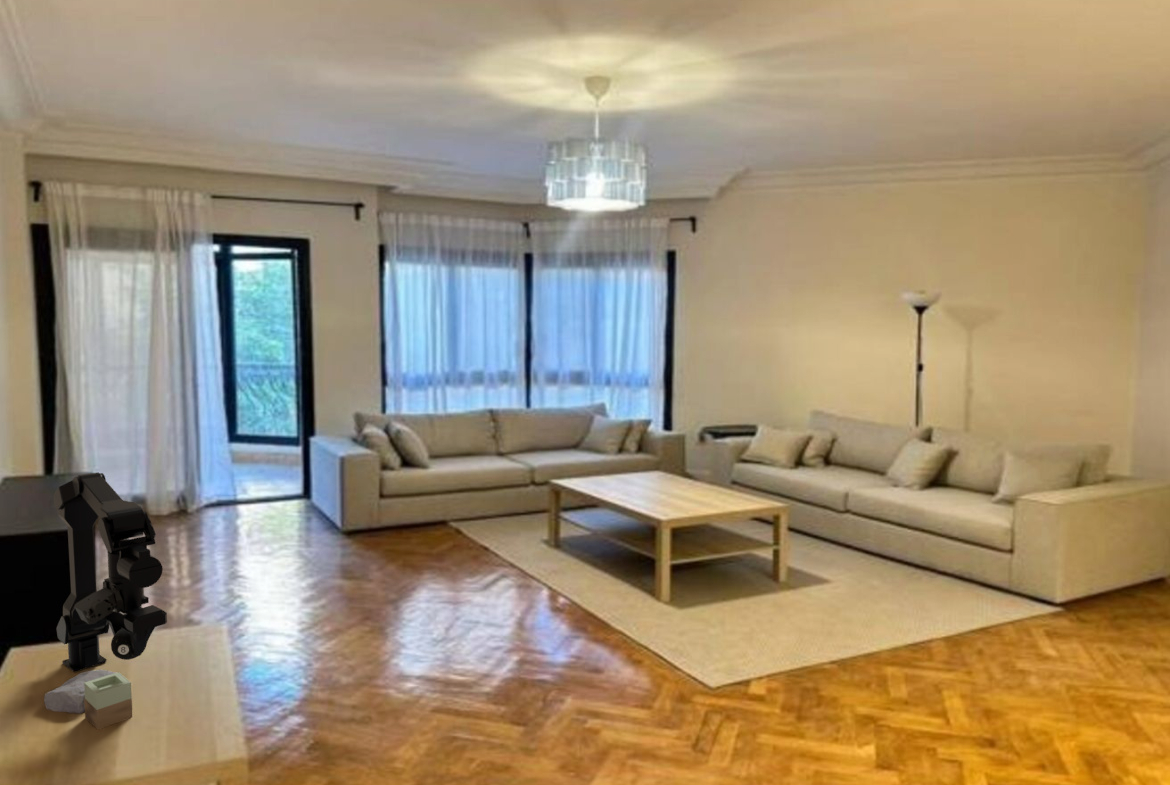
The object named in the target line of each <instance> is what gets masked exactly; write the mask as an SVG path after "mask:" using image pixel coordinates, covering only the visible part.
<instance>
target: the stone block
mask: <svg viewBox="0 0 1170 785" xmlns="http://www.w3.org/2000/svg"><path fill="white" fill-rule="evenodd" d="M114 673H116V672H114V671H110V670H108V669H107V670H106V669H96V670H89V671H83V672H81V673H78V674H77V675H75V676H74V677H71V678H69V679H67V680H66V681H65V682H64V683H62V685H60V686H59V687H56V688H54V689H52V690H50V691H48V692H46V693H44V699H43V701H44V705H45V708H46V709H47V710H50V711H51V712H62V713H63V712H64V713H65V712H66V713H69V714H72V713H73V714H74V713H75V714H83V713H85V706H84V699H85V690H84V683H85V682H88V681H91V680H94V679H98V678H101V677H104V676H107V675H111V674H114ZM120 674H121V675H123V674H122V673H120Z"/></svg>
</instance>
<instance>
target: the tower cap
mask: <svg viewBox="0 0 1170 785" xmlns="http://www.w3.org/2000/svg"><path fill="white" fill-rule="evenodd" d="M121 674H122V673H121V672H119V671H118V672H117V671H116V672H115V673H114V674H111V675H107V676H104V677H101V678H98V679H94V680H91V681H88V682H85V683H84V690H85V699H86V700H87V701H88V702H89V703H90V704H91V705H92V706H93V707H94V708H95V709H96V710H98V709H101V708H104V707H107V706H110V705H113V704H116V703H119V702H122V701H125V700H128V699H131V698H132V699H133V697H132V682H131V681H130V680H129V679H128V678H127V677H126V676H124V675H123V674H122V675H121Z"/></svg>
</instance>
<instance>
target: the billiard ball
mask: <svg viewBox="0 0 1170 785" xmlns="http://www.w3.org/2000/svg"><path fill="white" fill-rule="evenodd" d="M147 643H148V642H147ZM147 643H146V645H145V648H144V650H143V652H142V654H143V653H144V652H145V650H146V648H147V646H148V644H147ZM110 648H111V652H112V654H113V655H114V657H116V658H117V659H120V660H124V661H125V660H134V659H135V658H137V657H135V656H134V654H133V650H132V645H131V640H130V635H129V632H127V631H125V630H124V629H121V630H119V631H118V632H117V633H116V634H115V635H113V637H112V639H111V642H110Z"/></svg>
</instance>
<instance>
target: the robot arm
mask: <svg viewBox="0 0 1170 785" xmlns="http://www.w3.org/2000/svg"><path fill="white" fill-rule="evenodd" d="M53 505H54V508H55V510H56V511H57V516H58V517H59V518H60V519H61V520H62V521H63V523H65V525H66V526H67V527H66V528H67V538H68V539H67V540H68V559H69V577H70V578H69V579H70V594H69V595H68V597H67V599H66V600H65V602H64V603H63V606H62V616H60V619H59V621H58V623H57V626H56V628H55V629H56V635H57V639H58V640H59V641H60V642H61V643H62V644H63V645H67V652H68V658H67V659H63V660H62V664H63V665H64V666H65V667H66V668H68V669H69V670H71V671H72V672H73V673H74V672H75V673H76V672H79V671H82V670H85V669H88V668H92V667H95V666H99V665H102V664H104V663H107V658H105V657H104V656H102V655H101V654H100V653H101V652H100V651H101V650H100V635H105V634H106V635H107V634H109V630H111V632H112V635H113V636H114V635H115V634H116V633H117V632H118V631H119V630H121V629H124V630H125V631H127V632H129V635H130V640H131V645H132V650H133V654H134V656H135V657H136V658H137V657H140V656H141V655H142V654H143V653H144V651H145V650H144V648H145V645H146V643H148V642H149V639H150V637H151V636H152V633H153V632H154V629H156V627H159V626H163V625H166V624H167V623H168V613H167V612H166V611H165V610H163V609H161V608H160V607H158V606H156V605H153V604H152V605H149V606H148V605H147V606H144V607H142V606H143V605H145V604H149V602H150V600H149V597H148V596H146V595H145V589H146V588H149V587H151V586H153V585H155V584H156V583H157V582H158V581H159V580H160V578H161V577H162V574H163V568H164V567H163V565H162V562H161V561H160V560H159V559H158V558H156V557H155V556H153V555H152V554H151V550H150V549H149V548H148V547H149V546H153V545H156V540H155V537H156V532H155V529H154V526H153V524H152V520H151V518H150V516H149V515H148V512H147V511H146V510H144V508H143V507H141V505H138V504H137V503H135V502H134V501H128V500H124V499H122V498H121V496H120V495H119V494H118V493H117V492H116V491H115V490H114V488H113V487H112V486H111V485H110V484H109V483H108V481H107V479H106V475H105V474H104V473H103V472H101V473H100V472H92V473H91V472H90V473H84V474H79V475H78V474H77V476H74V477H73V478H72V480H70V481H68V482H66V483H65V484H62V485H61V486H58V487H57V489H56V491H55V492H54V494H53ZM97 520H98V522H97ZM96 522H97V523H98V524H97V526H98V531H99V535H100V538H101V540H102V542H103V544H104V546H105V548H106V551H107V570H108V571H107V572H108V577H107V578H104V579H103V582H102V588H101V589H99V590H97V589H98V588H97V572H96V571H97V570H96V553H95V550H96V549H95V538H94V537H95V534H94V525H95V524H96ZM143 535H144V536H143ZM146 646H147V645H146ZM145 649H146V648H145ZM143 650H144V651H143ZM142 652H143V653H142Z"/></svg>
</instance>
